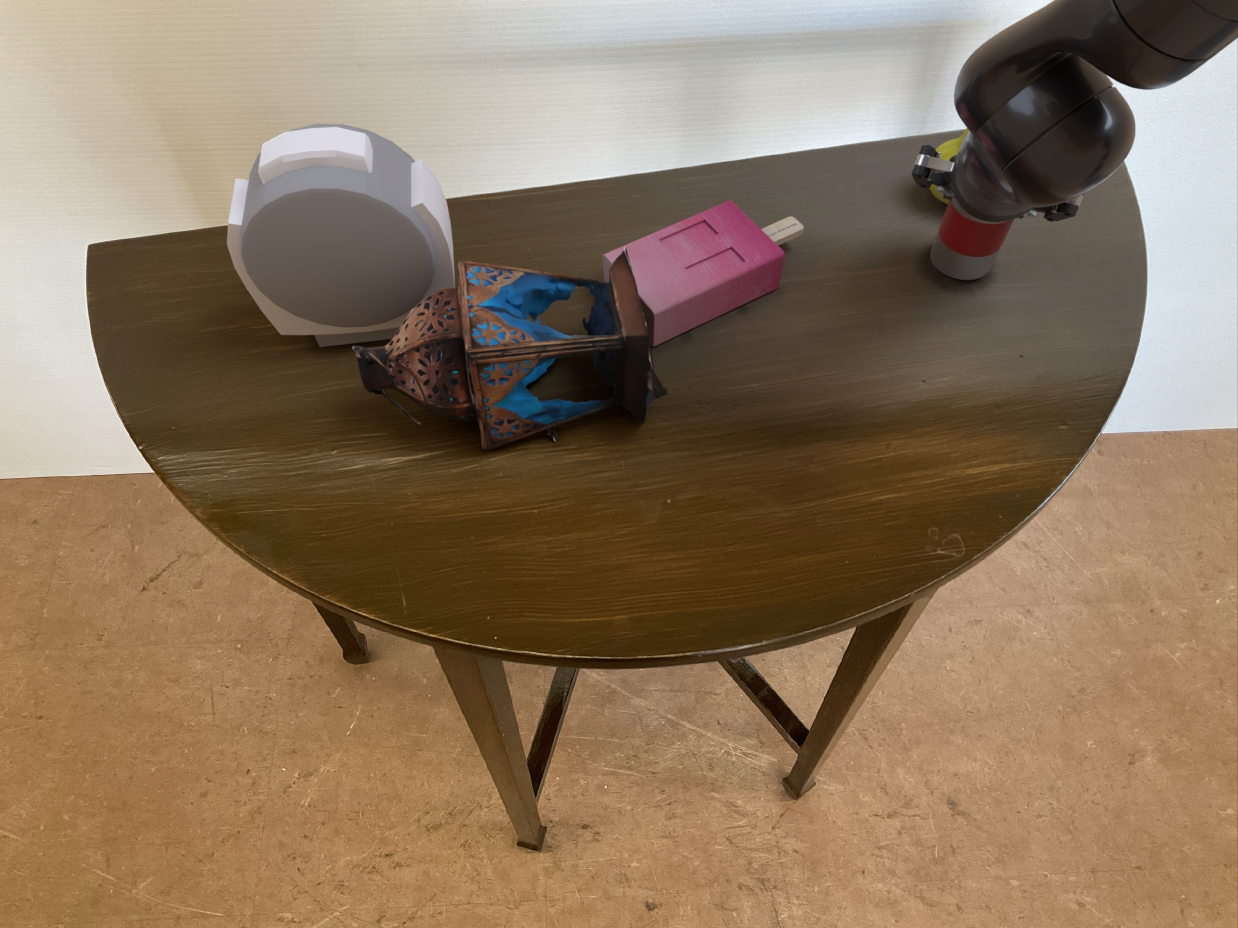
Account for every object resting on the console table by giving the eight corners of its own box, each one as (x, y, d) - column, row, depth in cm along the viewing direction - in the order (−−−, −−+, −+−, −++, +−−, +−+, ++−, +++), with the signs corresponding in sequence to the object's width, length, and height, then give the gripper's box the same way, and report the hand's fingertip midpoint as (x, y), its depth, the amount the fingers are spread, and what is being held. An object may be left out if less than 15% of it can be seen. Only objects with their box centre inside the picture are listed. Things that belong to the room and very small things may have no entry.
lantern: (641, 409, 84) (384, 445, 81) (625, 240, 80) (352, 271, 77) (681, 446, 69) (365, 493, 65) (663, 240, 65) (323, 278, 61)
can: (1005, 262, 85) (1045, 179, 77) (964, 289, 83) (1001, 207, 75) (957, 229, 88) (991, 145, 79) (916, 255, 86) (947, 171, 77)
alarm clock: (466, 280, 86) (424, 97, 69) (469, 343, 81) (425, 162, 65) (285, 300, 85) (198, 119, 68) (278, 365, 80) (182, 188, 63)
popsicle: (830, 232, 82) (653, 313, 77) (821, 269, 86) (653, 349, 81) (772, 179, 86) (602, 252, 81) (766, 217, 90) (603, 289, 85)
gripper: (1127, 138, 63) (1080, 177, 78) (931, 92, 66) (924, 138, 82) (1085, 239, 64) (1047, 257, 80) (896, 190, 68) (896, 216, 84)
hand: (985, 197), depth 81 cm, fingers closed on can, 6 cm apart
